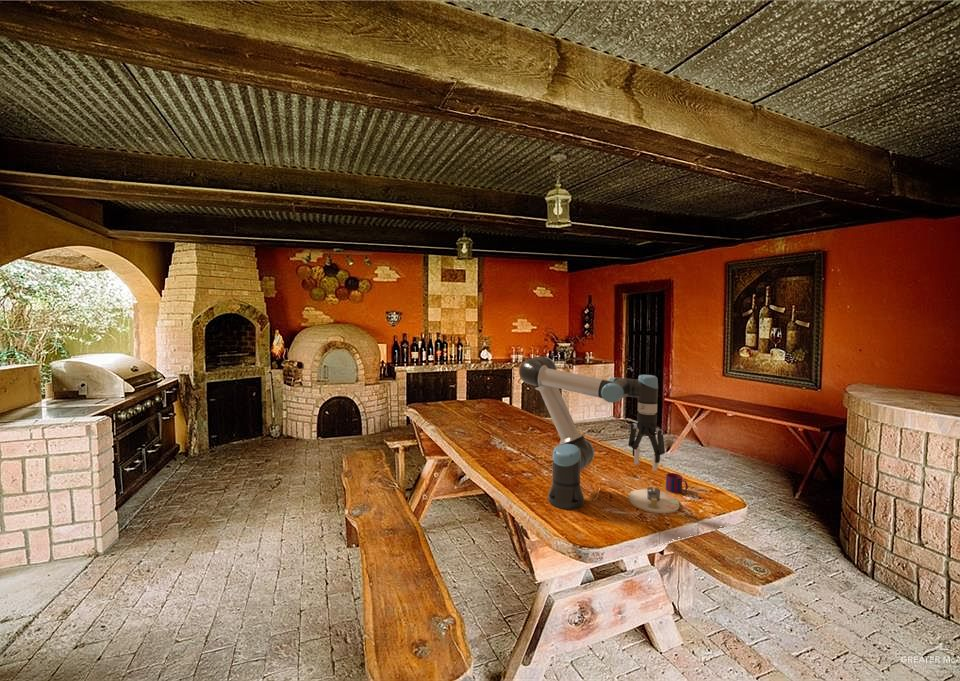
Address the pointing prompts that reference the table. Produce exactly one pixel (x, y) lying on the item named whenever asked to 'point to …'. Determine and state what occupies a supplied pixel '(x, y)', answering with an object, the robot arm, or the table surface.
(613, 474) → the table surface
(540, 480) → the table surface
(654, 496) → the needle
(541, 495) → the table surface
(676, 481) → the mug
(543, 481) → the table surface
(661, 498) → the dial plate
